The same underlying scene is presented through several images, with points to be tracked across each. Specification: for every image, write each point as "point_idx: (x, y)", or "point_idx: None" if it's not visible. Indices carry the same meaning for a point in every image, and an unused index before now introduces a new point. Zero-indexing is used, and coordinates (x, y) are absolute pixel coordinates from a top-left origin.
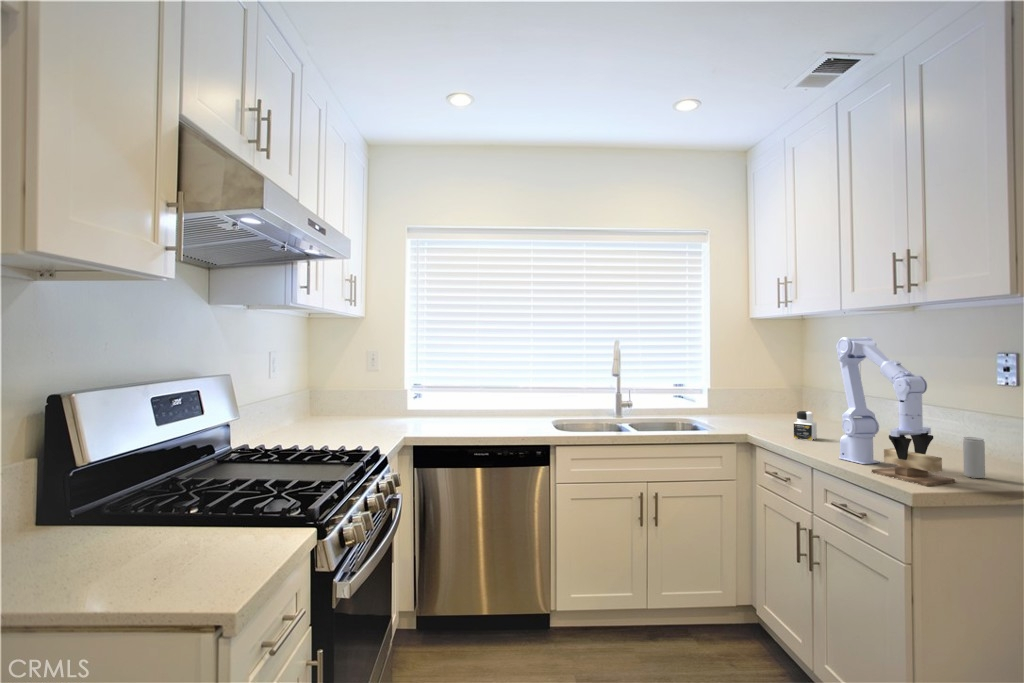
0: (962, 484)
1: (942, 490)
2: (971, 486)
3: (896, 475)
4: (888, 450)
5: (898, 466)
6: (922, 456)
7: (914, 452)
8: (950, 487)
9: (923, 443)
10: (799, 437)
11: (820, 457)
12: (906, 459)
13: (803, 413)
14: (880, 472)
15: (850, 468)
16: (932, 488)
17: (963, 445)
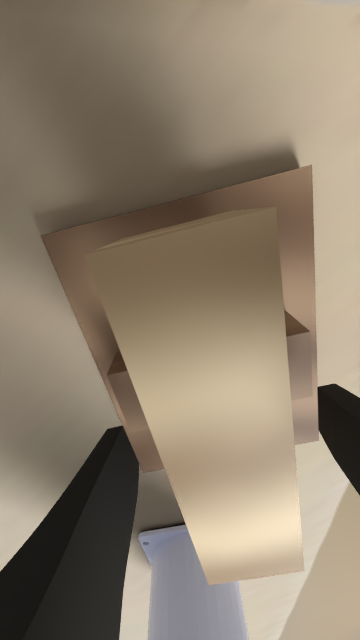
0: (37, 186)
1: (297, 48)
2: (12, 130)
3: (315, 340)
4: (300, 548)
5: (305, 384)
6: (265, 341)
7: (173, 485)
8: (172, 123)
9: (66, 605)
10: None
11: (284, 585)
12: (321, 388)
13: None
14: (315, 404)
15: (329, 482)
16: (312, 113)
17: None
